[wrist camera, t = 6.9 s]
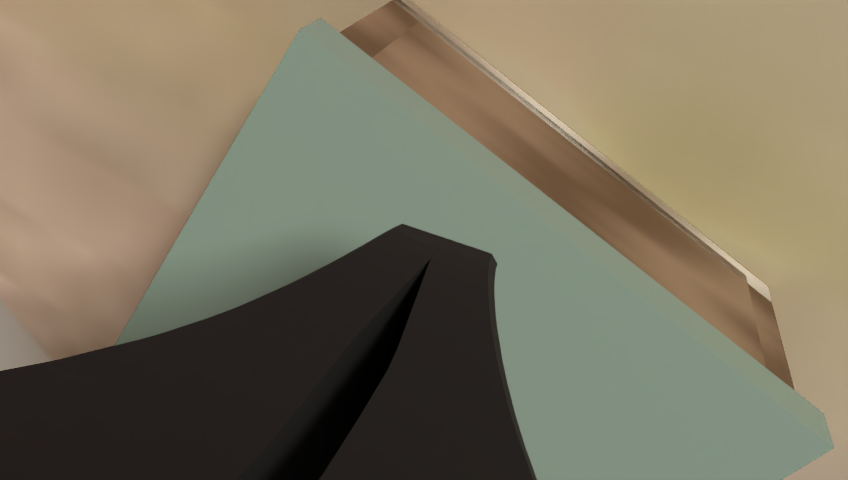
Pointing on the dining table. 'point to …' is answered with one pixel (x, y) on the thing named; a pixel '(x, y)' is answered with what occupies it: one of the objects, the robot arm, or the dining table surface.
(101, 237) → the dining table surface
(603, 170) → the brown wooden tray
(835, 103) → the dining table surface
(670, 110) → the dining table surface
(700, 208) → the dining table surface
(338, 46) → the lid
